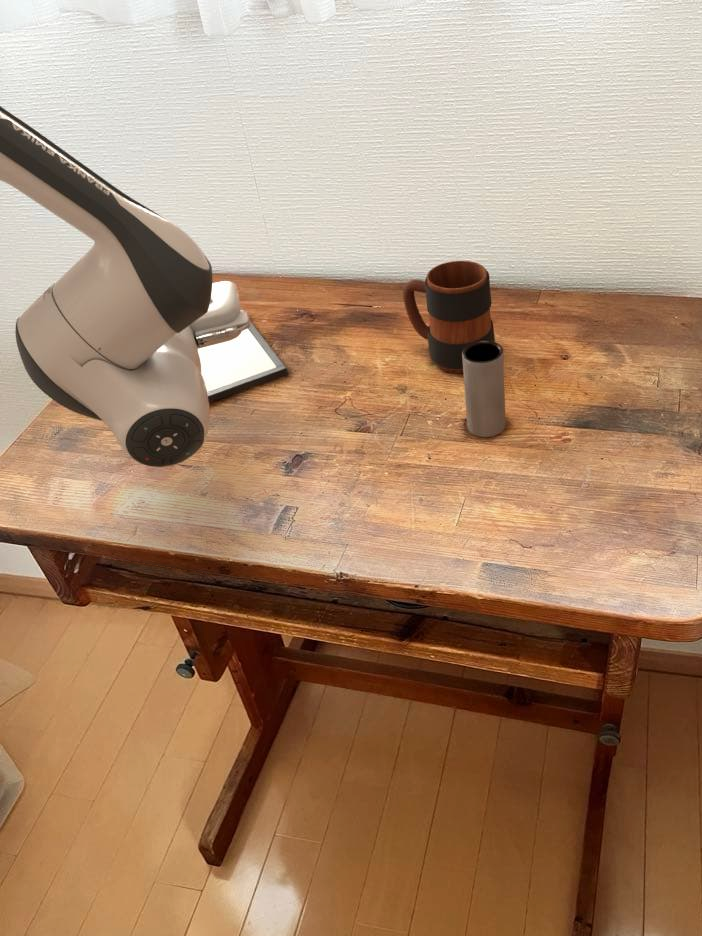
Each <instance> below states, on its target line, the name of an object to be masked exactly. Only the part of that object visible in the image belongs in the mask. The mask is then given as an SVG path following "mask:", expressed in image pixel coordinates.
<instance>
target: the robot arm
mask: <svg viewBox="0 0 702 936" xmlns="http://www.w3.org/2000/svg"><path fill="white" fill-rule="evenodd" d="M0 181H1V182H3V183H6V184H7V185H9V186H11V187H13V188H14V189H16V190H17V191H19V192H20V193H22V194H23V195H25V196H26V197H28V198H30V199H31V200H32V201H34V203H37V204H38V205H39V206H41V207H43V208H44V209H46V210H47V211H49V212H50V213H52V214H53V215H55V216H56V217H58V218H59V219H61V220H63V221H64V222H65V223H66V224H69V225H70V226H72V227H73V228H74V229H76V230H77V231H79V232H80V233H82V234H83V235H85V236H86V237H87V238H89V239H91V240H92V241H94V244H93V245H92V246H91V248H90V249H89V250H88V251H87V252H86V253H85V254H84V255H83V256H82V257H80V259H78V261H76V262H75V263H74V264H73V266H71V267H70V268H69V269H68V270H67V271H66V272H65V273H64V274H63V275H62V276H61V277H60V278H59V279H58V280H57V281H56V282H54V283H53V284H51V285H50V286H49V287H48V288H47V289H45V290H44V292H43V293H42V294H41V295H39V297H38V298H37V299H36V300H34V302H33V303H32V304H30V306H29V307H28V308H27V309H26V310H25V311H24V312H23V313H22V314H21V316H19V317H18V318H17V319H16V321H15V331H14V333H15V341H16V346H17V349H18V353H19V356H20V359H21V362H22V364H23V367H24V370H25V371H26V373H27V375H28V376H29V378H30V379H31V381H32V382H33V383H34V385H35V386H36V387H37V388H38V389H39V390H40V391H41V392H43V393H44V394H45V396H48V397H49V398H50V399H52V401H54V402H55V403H57V404H59V405H60V406H62V407H64V408H65V409H67V410H69V411H71V412H73V413H75V414H78V415H80V416H81V415H82V416H83V417H87V418H90V419H93V420H96V421H101V422H103V423H104V424H105V425H106V427H108V428H109V430H110V431H111V432H112V434H113V435H114V437H115V439H116V441H117V442H118V443H119V445H120V447H121V448H122V450H123V451H124V453H125V454H126V455H127V456H129V457H130V459H132V460H133V461H135V462H137V463H139V464H140V465H143V466H146V467H150V468H151V467H153V468H165V467H171V466H175V465H178V464H180V463H183V462H185V461H187V460H188V459H189V458H191V457H192V456H194V455H195V454H196V453H197V452H198V451H199V450H200V449H201V448H202V446H203V445H204V444H205V442H206V439H207V437H208V434H209V430H210V422H211V411H210V403H209V401H208V394H207V389H206V385H205V381H204V378H203V376H202V374H201V373H202V371H201V361H200V357H199V352H198V349H199V348H203V347H207V346H211V345H215V344H219V343H223V342H227V341H230V340H233V339H235V338H237V337H238V336H239V335H240V334H241V332H242V331H243V330H245V329H248V328H249V327H250V321H251V319H250V316H249V314H248V312H246V311H245V310H244V309H243V306H242V301H241V298H240V294H239V291H238V287H237V284H236V283H235V282H233V281H229V280H222V281H217V282H213V266H212V264H211V262H210V260H209V259H208V257H207V255H205V254H204V251H203V250H202V249H201V247H200V246H199V244H198V243H197V242H196V241H195V240H194V239H193V238H192V237H191V236H190V235H189V234H188V233H187V232H186V231H184V230H182V228H180V227H179V226H177V225H176V224H174V223H172V222H171V221H169V220H168V219H166V218H164V217H163V216H161V215H160V214H158V213H157V212H155V211H154V210H151V209H150V208H149V207H148V206H145V205H144V204H142V203H140V202H139V201H137V200H136V199H134V198H133V197H130V195H127V194H126V193H124V192H123V191H122V190H120V189H119V188H117V187H115V186H114V185H113V184H112V183H110V182H109V181H107V180H106V179H104V178H103V177H102V176H100V175H99V174H97V173H96V172H95V171H93V170H92V169H90V168H89V167H88V166H86V165H85V164H84V163H82V162H81V161H79V160H78V159H76V157H74V156H73V155H71V154H70V153H68V152H67V151H66V150H64V149H62V148H61V147H60V146H59V145H57V144H56V143H54V142H53V141H51V140H50V139H49V138H48V137H46V136H45V135H43V134H42V133H40V132H39V131H37V130H36V129H35V128H34V127H32V126H30V125H29V124H27V123H26V122H25V121H23V120H22V119H20V118H19V117H18V116H16V115H15V114H13V113H12V112H10V111H9V110H7V109H6V108H4V107H3V106H2V105H0Z"/></svg>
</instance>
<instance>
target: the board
mask: <svg viewBox="0 0 702 936" xmlns="http://www.w3.org/2000/svg"><path fill="white" fill-rule="evenodd" d="M198 352H199V357H200V361H201V371H202V373H201V374H202V376H203V378H204V381H205V385H206V389H207V394H208V401H209V404H211V403H213V402H216V401H219V400H220V399H224V398H226V397H229V396H232V395H234V394H237V393H240V392H242V391H245V390H248V389H250V388H251V389H252V388H254V387H257V386H260V385H262V384H265V383H268V382H270V381H274V380H276V379H278V378H281V377H284V376H286V375H288V374H289V372H288V368H287V366H286V365H285V364H284V363H283V362H282V360H281V359H280V358H279V356H278V355H277V353H275V351H274V350H273V349H272V347H271V346H270V345H269V343H268V342H267V341H266V339H265V338H264V337H263V336H262V334H261V333H260V332H259V330H258V329H257V328H256V326H255V325H254V323H252V320H250V327H249V328H248V329H245V330H243V331H242V332H241V334H240V335H239V336H238V337H237V338H235V339H233V340H230V341H227V342H223V343H219V344H215V345H211V346H207V347H203V348H199V349H198Z"/></svg>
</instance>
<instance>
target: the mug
mask: <svg viewBox="0 0 702 936" xmlns="http://www.w3.org/2000/svg"><path fill="white" fill-rule="evenodd" d="M424 280H425V281H424ZM424 280H421V279H420V280H419V279H411V280H409V281H408V282H407V283H406V284H405V286H404V287H403V291H402V298H403V303H404V308H405V311H406V314H407V316H408V319H409V321H410V323H411V325H412V327H413V329H414V330H415V332H416V334H418V335H419V336H420V337H422V338H423V339H425V340H427V345H428V352H429V358H430V359H431V361H432V362H433V363H434V364H435V365H436V366H437V367H438V368H439V369H441V370H443V371H445V372H449V373H457V374H461V373H463V361H462V351H463V349H464V348H465V347H466V346H467V345H469V344H470V343H473V342H476V341H483V340H486V341H493V342H496V337H495V329H494V323H493V320H492V318H491V307H492V293H491V280H490V273H489V271H488V270H487V268H485V266H484V265H482V264H480V263H478V262H474V261H471V260H452V261H448V262H443V263H441V264H438V265H436V266H434V267H432V268H431V269H430V270H429V271H428V272H427V275H426V277H425V279H424ZM415 292H417V293H423V294H425V299H426V310H427V312H428V320H429V321H428V322H429V325H427V323H426V322H425V321H424V319H423V317H422V315H421V313H420V311H419V310H420V309H419V308H418V304H417V302H416V301H417V300H416V297H415Z"/></svg>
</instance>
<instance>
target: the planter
mask: <svg viewBox="0 0 702 936" xmlns="http://www.w3.org/2000/svg"><path fill="white" fill-rule="evenodd" d="M462 361H463V387H464V400H465V415H466V426H467V430H468V431H469V433H470V434H472V435H474V436H476V437H479V438H490V437H492V438H493V437H494V436H498V435H499V434H500V433H502V432H503V431H504V430H505V429H506V395H505V393H506V392H505V390H506V389H505V364H504V363H505V362H504V348H503V347H502V345H501V344H499V343H497V342H496V341H495V342H493V341H486V340H483V341H476V342H473V343H470V344H469V345H467V346H466V347H465V348H464V349H463V351H462Z"/></svg>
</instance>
